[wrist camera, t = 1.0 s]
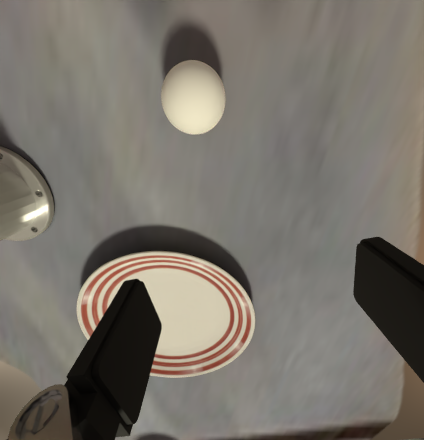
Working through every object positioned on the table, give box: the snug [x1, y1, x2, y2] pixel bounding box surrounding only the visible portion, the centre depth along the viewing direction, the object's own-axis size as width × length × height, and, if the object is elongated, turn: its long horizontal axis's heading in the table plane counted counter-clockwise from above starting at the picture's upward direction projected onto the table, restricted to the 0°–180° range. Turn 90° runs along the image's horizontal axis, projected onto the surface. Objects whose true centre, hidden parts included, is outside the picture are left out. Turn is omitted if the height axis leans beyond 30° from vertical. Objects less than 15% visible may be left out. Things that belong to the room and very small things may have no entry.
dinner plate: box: [77, 251, 255, 378], centre depth 33 cm, size 27×27×3 cm
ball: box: [161, 60, 226, 134], centre depth 19 cm, size 6×6×6 cm
